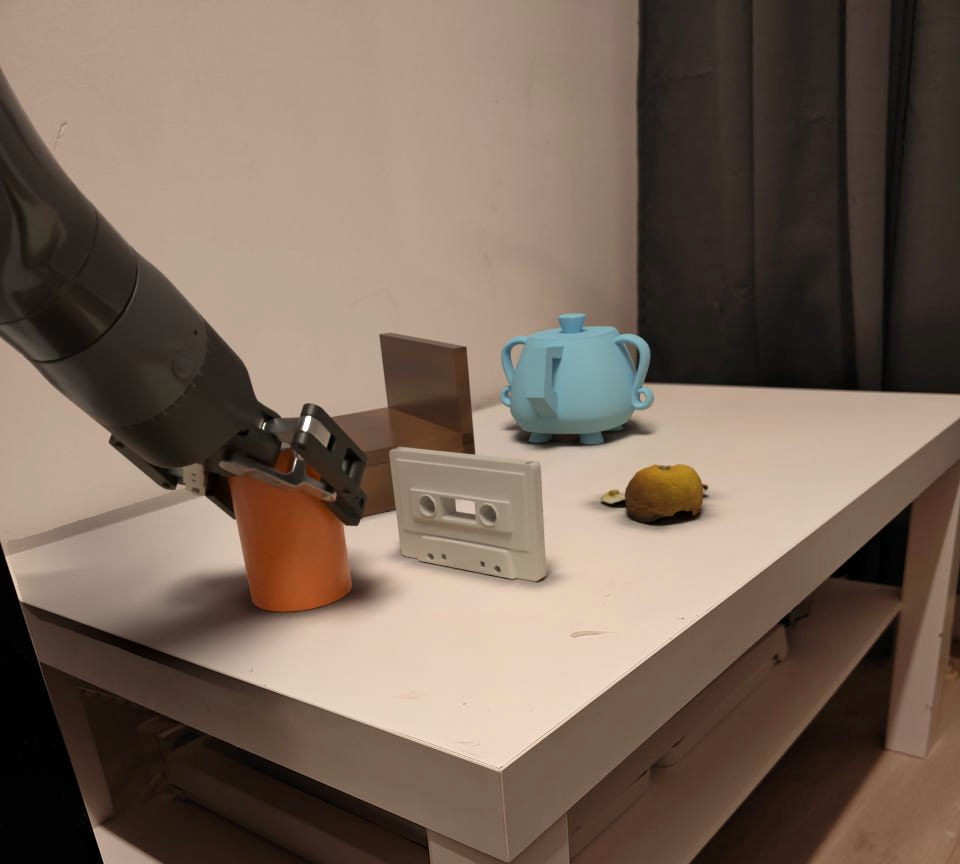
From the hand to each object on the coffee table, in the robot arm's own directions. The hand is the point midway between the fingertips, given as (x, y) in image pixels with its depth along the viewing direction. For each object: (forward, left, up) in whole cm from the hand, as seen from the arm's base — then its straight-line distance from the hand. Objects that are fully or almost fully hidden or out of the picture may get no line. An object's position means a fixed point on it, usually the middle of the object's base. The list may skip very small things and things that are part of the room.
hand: (300, 510), depth 61 cm
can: (-1, -1, -5) cm, 5 cm away
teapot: (+37, +24, -5) cm, 45 cm away
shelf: (+12, +20, -5) cm, 24 cm away
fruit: (+28, -2, -5) cm, 29 cm away
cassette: (+10, -4, -5) cm, 12 cm away
